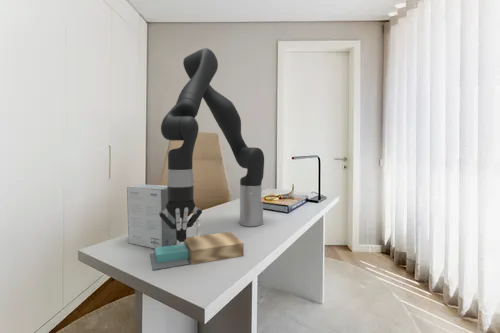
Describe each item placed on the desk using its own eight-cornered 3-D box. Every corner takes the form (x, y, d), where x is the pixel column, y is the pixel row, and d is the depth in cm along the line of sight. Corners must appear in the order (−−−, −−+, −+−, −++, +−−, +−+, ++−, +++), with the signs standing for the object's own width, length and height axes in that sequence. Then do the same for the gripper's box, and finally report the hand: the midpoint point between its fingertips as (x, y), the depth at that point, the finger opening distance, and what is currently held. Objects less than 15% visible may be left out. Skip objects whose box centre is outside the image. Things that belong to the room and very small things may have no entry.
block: (185, 251, 87) (185, 243, 87) (188, 258, 81) (188, 250, 81) (155, 255, 83) (155, 247, 83) (157, 263, 78) (156, 254, 78)
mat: (182, 249, 89) (182, 248, 89) (189, 264, 78) (189, 263, 78) (149, 254, 85) (149, 253, 85) (152, 270, 74) (152, 269, 74)
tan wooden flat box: (230, 243, 95) (230, 231, 95) (243, 255, 84) (243, 243, 84) (184, 249, 89) (184, 237, 89) (191, 264, 78) (191, 250, 78)
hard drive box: (177, 243, 95) (177, 186, 93) (162, 250, 88) (161, 189, 86) (144, 236, 101) (143, 183, 100) (127, 243, 94) (125, 186, 93)
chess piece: (191, 238, 100) (191, 211, 99) (205, 238, 100) (204, 211, 100) (189, 243, 95) (189, 214, 94) (203, 242, 96) (203, 214, 95)
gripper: (199, 181, 87) (199, 234, 88) (156, 183, 82) (156, 240, 83) (205, 184, 80) (205, 242, 82) (158, 187, 75) (159, 248, 76)
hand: (181, 241), depth 82 cm, fingers closed
